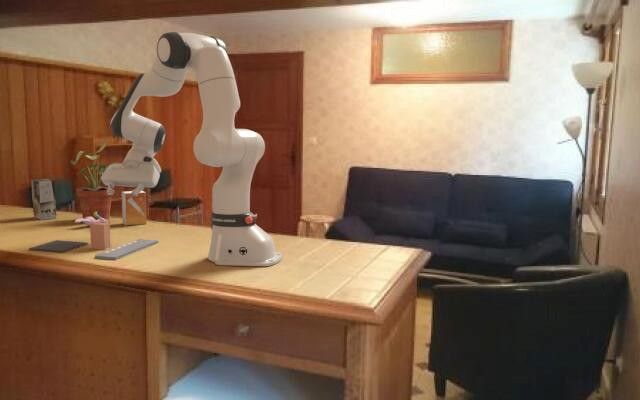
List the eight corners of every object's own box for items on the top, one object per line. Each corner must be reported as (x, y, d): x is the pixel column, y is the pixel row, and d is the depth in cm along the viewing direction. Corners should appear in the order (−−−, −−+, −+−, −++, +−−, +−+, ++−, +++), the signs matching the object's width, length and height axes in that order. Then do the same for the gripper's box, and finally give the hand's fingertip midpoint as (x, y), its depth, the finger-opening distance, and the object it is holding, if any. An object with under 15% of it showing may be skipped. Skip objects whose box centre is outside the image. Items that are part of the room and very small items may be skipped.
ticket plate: (158, 242, 174) (158, 240, 174) (115, 259, 151) (115, 256, 151) (139, 241, 176) (139, 238, 176) (94, 258, 153) (94, 255, 153)
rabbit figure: (101, 225, 209) (69, 226, 195) (102, 211, 209) (71, 210, 195) (112, 227, 206) (81, 227, 192) (113, 212, 206) (83, 211, 193)
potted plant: (93, 215, 223) (90, 134, 218) (122, 218, 218) (119, 135, 213) (65, 221, 209) (60, 135, 204) (94, 224, 204) (91, 135, 199)
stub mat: (87, 244, 170) (87, 242, 170) (62, 252, 159) (62, 250, 158) (56, 241, 173) (56, 240, 173) (29, 250, 161) (29, 248, 161)
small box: (126, 225, 202) (125, 193, 201) (122, 223, 208) (121, 191, 206) (147, 224, 207) (146, 192, 205) (142, 221, 212) (141, 190, 210)
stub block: (110, 247, 167) (109, 223, 166) (104, 249, 164) (103, 224, 163) (96, 246, 168) (95, 222, 167) (91, 248, 165) (89, 223, 164)
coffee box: (57, 218, 215) (55, 180, 213) (40, 220, 211) (38, 181, 208) (49, 215, 222) (47, 178, 219) (33, 217, 217) (30, 179, 215)
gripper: (107, 157, 183) (90, 187, 175) (159, 158, 179) (144, 189, 171) (115, 168, 188) (99, 198, 180) (165, 170, 184) (152, 201, 176)
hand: (121, 194), depth 175 cm, fingers open, 8 cm apart
